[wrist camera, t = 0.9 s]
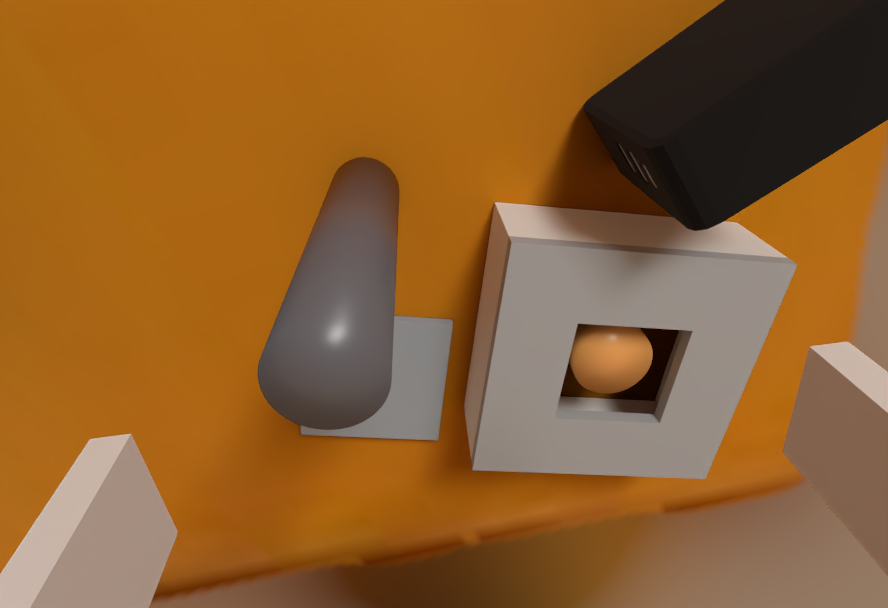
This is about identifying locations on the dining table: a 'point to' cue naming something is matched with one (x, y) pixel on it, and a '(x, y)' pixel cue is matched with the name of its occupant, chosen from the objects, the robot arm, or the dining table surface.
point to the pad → (409, 384)
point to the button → (609, 357)
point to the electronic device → (745, 102)
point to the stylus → (339, 307)
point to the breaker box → (615, 304)
